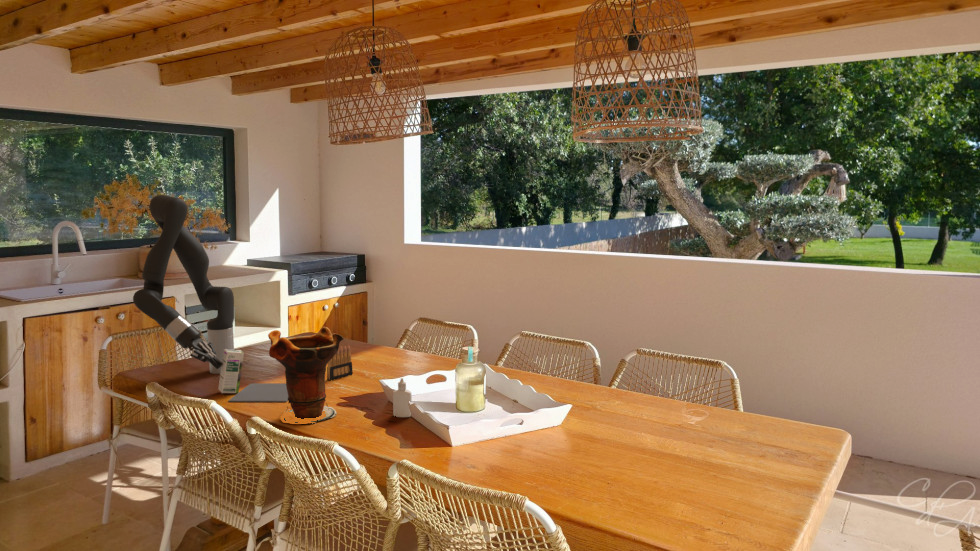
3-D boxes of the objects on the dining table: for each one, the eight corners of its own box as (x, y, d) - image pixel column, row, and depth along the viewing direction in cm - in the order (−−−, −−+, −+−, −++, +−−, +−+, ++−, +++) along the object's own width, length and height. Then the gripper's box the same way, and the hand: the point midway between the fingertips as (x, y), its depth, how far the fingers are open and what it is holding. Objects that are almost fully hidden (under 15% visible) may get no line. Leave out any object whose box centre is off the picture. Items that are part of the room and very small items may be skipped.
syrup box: (221, 393, 232) (227, 351, 231) (217, 389, 237) (223, 348, 236) (238, 393, 235) (244, 352, 235) (234, 389, 240) (240, 349, 239)
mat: (250, 384, 246) (250, 383, 246) (303, 384, 245) (303, 383, 245) (228, 402, 226) (228, 400, 226) (286, 402, 225) (286, 400, 225)
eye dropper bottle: (400, 412, 215) (399, 375, 213) (414, 415, 212) (413, 378, 210) (391, 416, 211) (390, 378, 210) (404, 419, 208) (403, 381, 207)
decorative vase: (360, 412, 213) (353, 326, 209) (293, 434, 198) (284, 342, 193) (325, 398, 228) (318, 317, 224) (261, 418, 213) (251, 331, 208)
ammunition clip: (330, 380, 250) (329, 349, 249) (327, 380, 251) (325, 348, 250) (352, 374, 258) (351, 343, 257) (349, 373, 260) (348, 343, 258)
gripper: (181, 328, 226) (219, 364, 228) (199, 320, 239) (235, 354, 241) (166, 344, 227) (204, 379, 228) (185, 335, 240) (221, 369, 241)
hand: (220, 366), depth 235 cm, fingers closed
